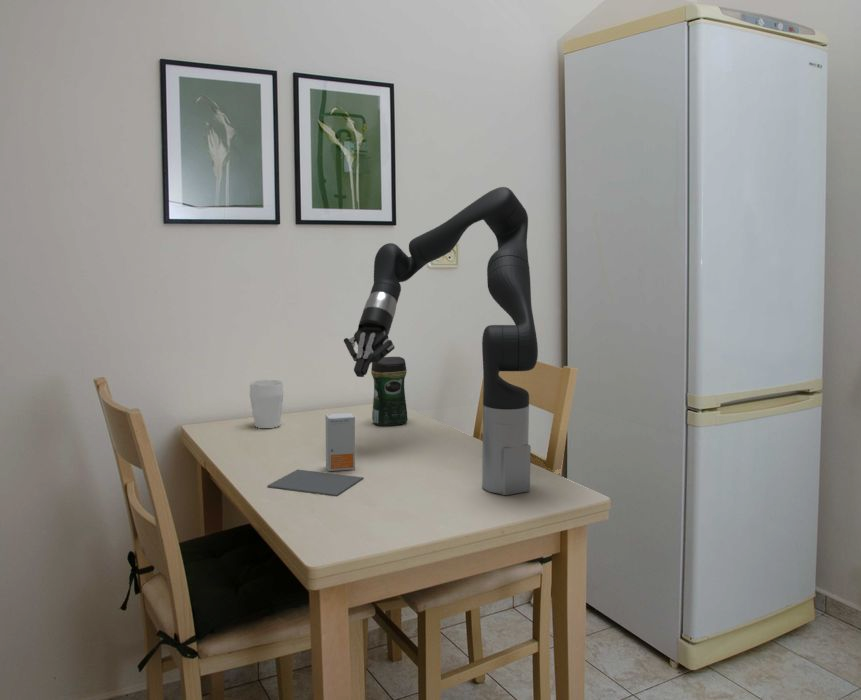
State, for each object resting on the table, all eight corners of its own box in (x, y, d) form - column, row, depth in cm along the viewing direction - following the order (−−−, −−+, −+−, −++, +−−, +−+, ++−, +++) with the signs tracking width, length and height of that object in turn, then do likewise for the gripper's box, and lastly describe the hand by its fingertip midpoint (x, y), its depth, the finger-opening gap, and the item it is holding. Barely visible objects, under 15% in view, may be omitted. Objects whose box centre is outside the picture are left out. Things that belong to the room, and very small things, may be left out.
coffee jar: (401, 418, 214) (401, 354, 212) (410, 424, 207) (410, 358, 204) (368, 421, 211) (367, 355, 208) (376, 427, 204) (376, 359, 201)
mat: (297, 470, 165) (297, 469, 165) (363, 478, 159) (363, 477, 159) (267, 487, 154) (267, 485, 154) (336, 496, 148) (336, 494, 148)
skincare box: (328, 472, 164) (327, 418, 162) (325, 466, 168) (324, 414, 166) (356, 470, 166) (355, 416, 164) (352, 464, 170) (352, 412, 168)
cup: (244, 428, 203) (242, 385, 201) (261, 421, 211) (259, 379, 209) (274, 431, 200) (273, 386, 198) (290, 423, 209) (289, 380, 207)
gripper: (407, 325, 184) (390, 385, 175) (358, 323, 188) (338, 381, 179) (399, 306, 178) (380, 368, 169) (348, 304, 182) (327, 364, 173)
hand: (358, 375), depth 174 cm, fingers closed
